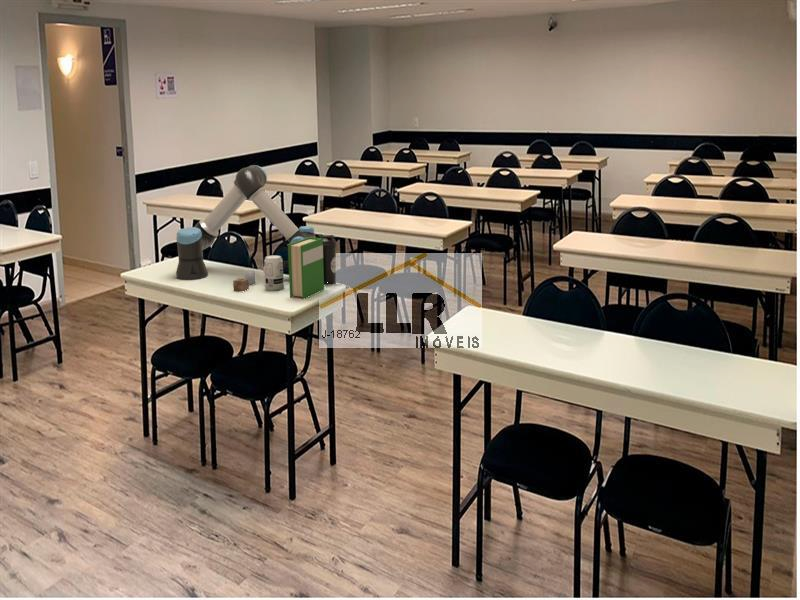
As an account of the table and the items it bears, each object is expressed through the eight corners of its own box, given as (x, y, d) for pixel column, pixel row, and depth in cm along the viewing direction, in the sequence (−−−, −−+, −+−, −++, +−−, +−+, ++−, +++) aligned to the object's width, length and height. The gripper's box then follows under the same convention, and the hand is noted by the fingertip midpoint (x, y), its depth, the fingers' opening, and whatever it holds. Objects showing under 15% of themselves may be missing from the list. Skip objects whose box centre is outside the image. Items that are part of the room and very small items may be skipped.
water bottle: (334, 286, 349) (332, 237, 343) (313, 284, 351) (311, 237, 345) (339, 280, 359) (338, 233, 352) (319, 279, 361) (318, 233, 354)
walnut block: (233, 291, 340) (233, 280, 339) (239, 288, 345) (239, 278, 344) (243, 292, 339) (242, 281, 337) (248, 289, 343) (248, 279, 342)
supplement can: (266, 286, 348) (265, 255, 344) (284, 286, 349) (282, 254, 345) (265, 290, 340) (263, 259, 336) (283, 290, 341) (281, 258, 337)
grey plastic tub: (242, 284, 351) (242, 272, 349) (248, 282, 356) (247, 270, 354) (252, 285, 349) (251, 273, 348) (257, 283, 354) (256, 271, 352)
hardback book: (304, 298, 328) (302, 245, 321) (289, 297, 330) (287, 244, 324) (324, 289, 343) (322, 238, 337) (310, 287, 346) (308, 237, 339)
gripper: (321, 271, 360) (301, 281, 341) (276, 267, 368) (254, 276, 349) (321, 256, 358) (300, 265, 339) (275, 252, 366) (253, 261, 347)
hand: (276, 271), depth 344 cm, fingers open, 13 cm apart
